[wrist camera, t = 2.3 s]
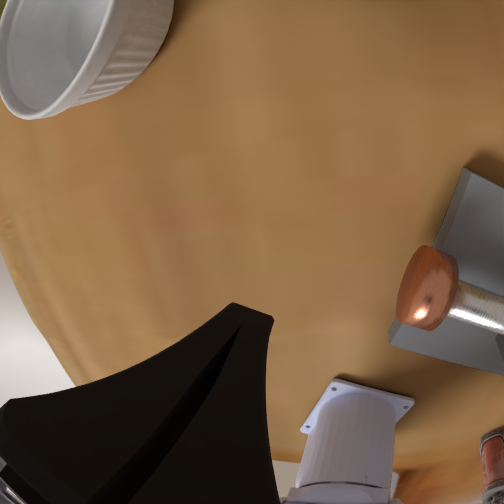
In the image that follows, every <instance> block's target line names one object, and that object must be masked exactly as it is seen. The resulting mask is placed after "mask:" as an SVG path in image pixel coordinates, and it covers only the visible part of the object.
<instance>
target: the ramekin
mask: <svg viewBox="0 0 504 504" xmlns="http://www.w3.org/2000/svg"><path fill="white" fill-rule="evenodd" d="M173 5H174V0H7V3H6V5H5V8H4V10H3V13H2V16H1V20H0V95H1V98H2V100H3V102H4V104H5V105H6V107H7V108H8V109H9V110H10V111H11V112H12V113H13V114H14V115H15V116H17V117H19V118H22V119H28V120H32V119H40V118H46V117H50V116H54V115H56V114H59V113H61V112H63V111H64V110H66V109H67V108H70V107H74V106H77V105H81V104H85V103H88V102H92V101H95V100H98V99H101V98H104V97H107V96H110V95H112V94H114V93H115V92H117V91H120V90H122V89H123V88H124V87H125V86H127V85H129V84H130V83H131V82H132V81H133V80H134V79H136V78H137V77H138V76H139V75H140V74H141V73H142V72H143V71H144V70H145V69H146V68H147V66H148V65H149V64H150V63H151V61H152V60H153V58H154V57H155V55H156V54H157V52H158V51H159V48H160V47H161V45H162V43H163V41H164V39H165V36H166V34H167V32H168V29H169V25H170V22H171V19H172V13H173Z"/></svg>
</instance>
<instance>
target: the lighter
mask: <svg viewBox="0 0 504 504" xmlns="http://www.w3.org/2000/svg"><path fill="white" fill-rule="evenodd" d="M480 455H481V458H482V462H483V477H484V492H483V496H482V501H483V504H504V503H503V500H504V433H503V431H502V430H501V429H494V430H491V431H489V432H487V433H486V434H484V435H483V436H482V438H481V442H480Z"/></svg>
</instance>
